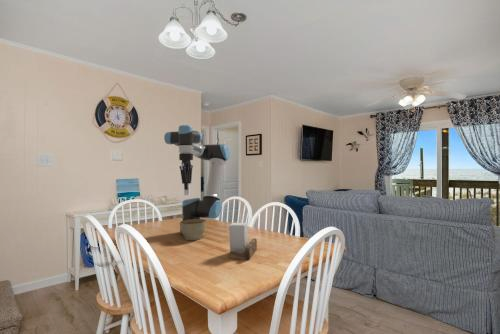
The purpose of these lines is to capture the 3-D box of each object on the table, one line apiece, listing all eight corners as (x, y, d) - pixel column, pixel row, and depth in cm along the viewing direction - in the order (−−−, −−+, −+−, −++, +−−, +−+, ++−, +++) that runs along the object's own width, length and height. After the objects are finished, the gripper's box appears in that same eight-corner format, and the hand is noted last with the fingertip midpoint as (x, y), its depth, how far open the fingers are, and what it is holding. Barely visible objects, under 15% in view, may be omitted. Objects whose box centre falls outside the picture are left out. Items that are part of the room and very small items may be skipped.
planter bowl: (208, 235, 180) (208, 218, 180) (202, 242, 164) (201, 224, 164) (184, 235, 181) (184, 218, 181) (175, 242, 165) (175, 224, 165)
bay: (238, 248, 151) (238, 237, 151) (256, 249, 148) (256, 238, 148) (229, 258, 135) (229, 246, 135) (249, 260, 133) (249, 247, 133)
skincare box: (248, 252, 144) (248, 222, 144) (245, 256, 138) (244, 225, 138) (233, 251, 147) (233, 222, 146) (229, 255, 140) (228, 224, 140)
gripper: (187, 152, 147) (188, 196, 148) (196, 153, 160) (197, 193, 161) (174, 153, 149) (175, 196, 150) (184, 153, 162) (185, 193, 163)
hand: (187, 195), depth 155 cm, fingers closed
